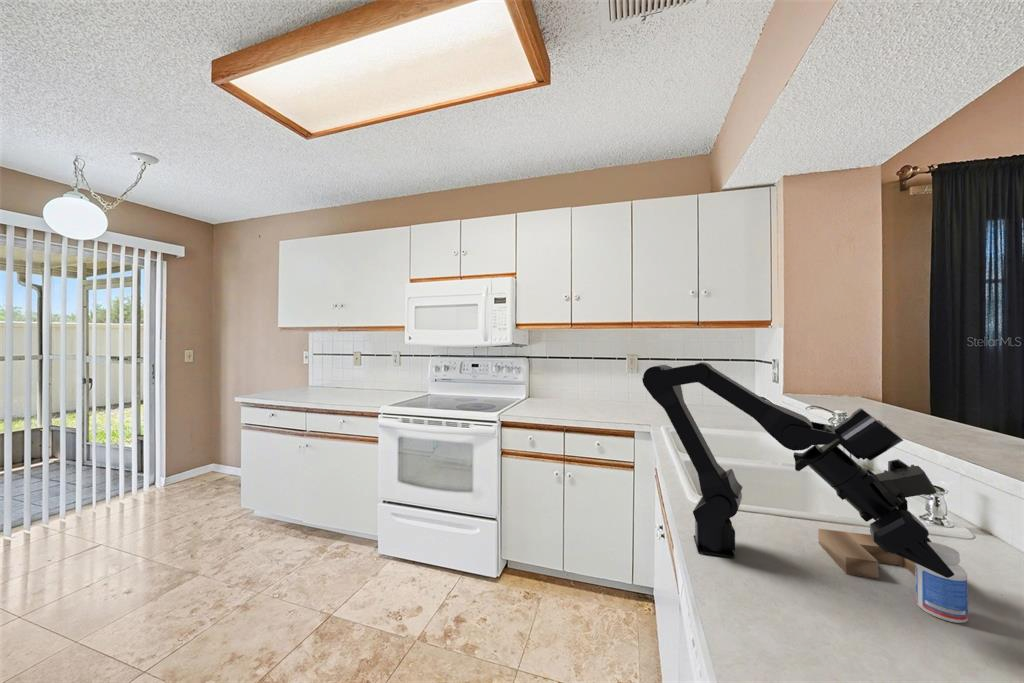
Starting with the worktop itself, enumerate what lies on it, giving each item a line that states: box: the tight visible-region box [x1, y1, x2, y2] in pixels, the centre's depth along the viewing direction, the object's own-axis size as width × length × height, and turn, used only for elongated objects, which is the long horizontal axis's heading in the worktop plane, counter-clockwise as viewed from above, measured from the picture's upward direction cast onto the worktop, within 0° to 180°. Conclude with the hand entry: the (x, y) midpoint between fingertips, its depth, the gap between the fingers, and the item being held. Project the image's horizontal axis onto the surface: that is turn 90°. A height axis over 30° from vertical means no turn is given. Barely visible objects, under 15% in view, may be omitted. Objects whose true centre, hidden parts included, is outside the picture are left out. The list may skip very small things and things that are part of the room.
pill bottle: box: [914, 541, 969, 624], centre depth 59 cm, size 6×5×10 cm
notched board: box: [817, 528, 915, 579], centre depth 72 cm, size 16×11×3 cm
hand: (941, 561), depth 59 cm, fingers open, 9 cm apart
